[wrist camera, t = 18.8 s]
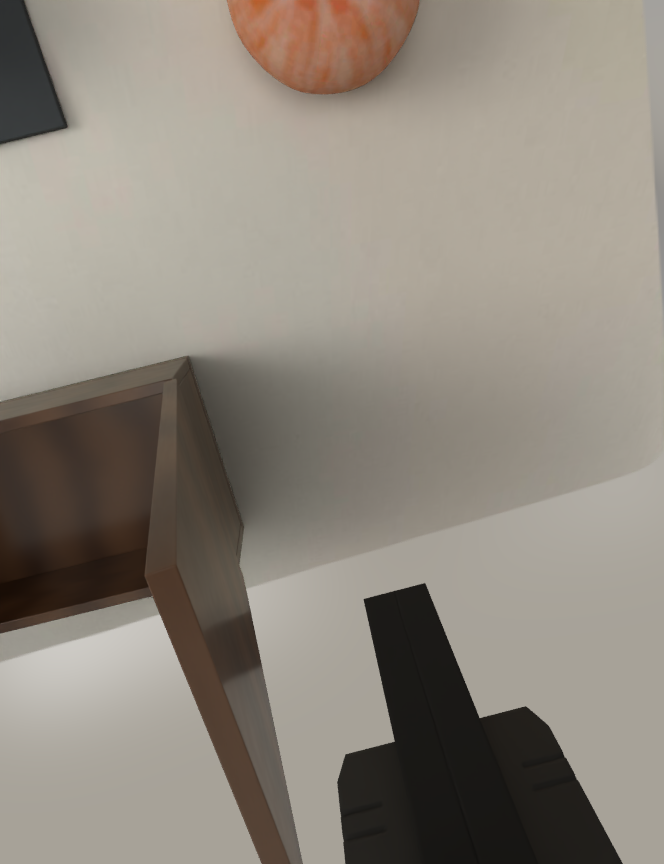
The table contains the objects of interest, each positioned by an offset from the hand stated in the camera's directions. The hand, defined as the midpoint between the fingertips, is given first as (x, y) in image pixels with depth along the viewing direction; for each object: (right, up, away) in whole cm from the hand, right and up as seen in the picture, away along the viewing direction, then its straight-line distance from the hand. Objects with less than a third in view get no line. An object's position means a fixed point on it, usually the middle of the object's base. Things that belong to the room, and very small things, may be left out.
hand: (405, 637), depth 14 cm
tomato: (-3, +31, +22) cm, 38 cm away
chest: (-21, +1, +30) cm, 37 cm away
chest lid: (-7, -2, +13) cm, 15 cm away
